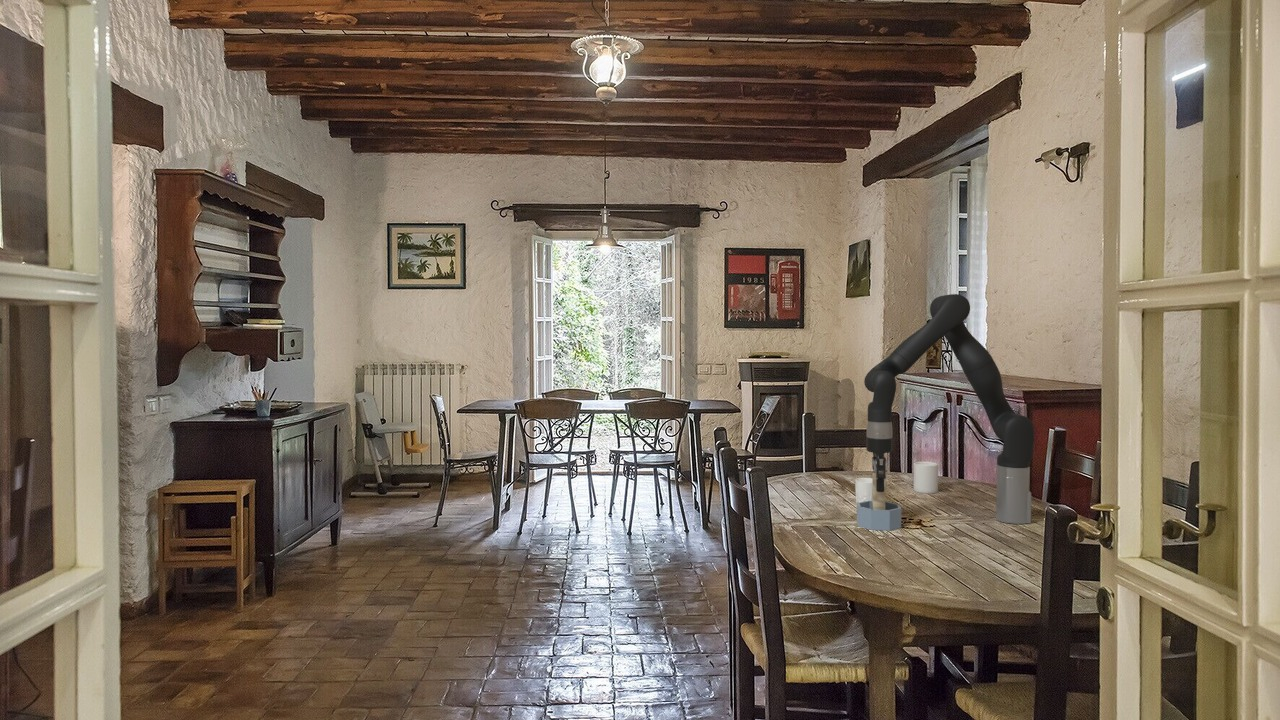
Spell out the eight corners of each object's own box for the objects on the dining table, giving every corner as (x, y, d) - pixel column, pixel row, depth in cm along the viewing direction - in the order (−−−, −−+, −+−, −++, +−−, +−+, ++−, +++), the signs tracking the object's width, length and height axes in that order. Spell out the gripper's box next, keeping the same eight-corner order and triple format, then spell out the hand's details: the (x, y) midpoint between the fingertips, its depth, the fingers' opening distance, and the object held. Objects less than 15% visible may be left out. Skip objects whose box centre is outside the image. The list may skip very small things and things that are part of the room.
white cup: (852, 511, 260) (852, 481, 260) (857, 506, 267) (857, 476, 267) (876, 514, 257) (877, 483, 256) (881, 509, 264) (882, 479, 263)
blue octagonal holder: (897, 520, 248) (898, 501, 247) (902, 531, 235) (902, 511, 235) (855, 519, 250) (856, 500, 250) (858, 529, 238) (858, 509, 238)
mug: (912, 486, 298) (912, 459, 298) (935, 487, 296) (936, 460, 295) (914, 493, 287) (914, 465, 286) (938, 494, 284) (939, 466, 284)
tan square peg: (883, 521, 244) (884, 473, 243) (885, 524, 241) (885, 475, 240) (872, 521, 245) (872, 473, 244) (873, 524, 241) (873, 475, 241)
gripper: (894, 439, 234) (894, 494, 235) (889, 433, 248) (889, 484, 249) (868, 439, 235) (867, 493, 236) (864, 432, 249) (864, 483, 250)
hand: (878, 488), depth 242 cm, fingers open, 8 cm apart
